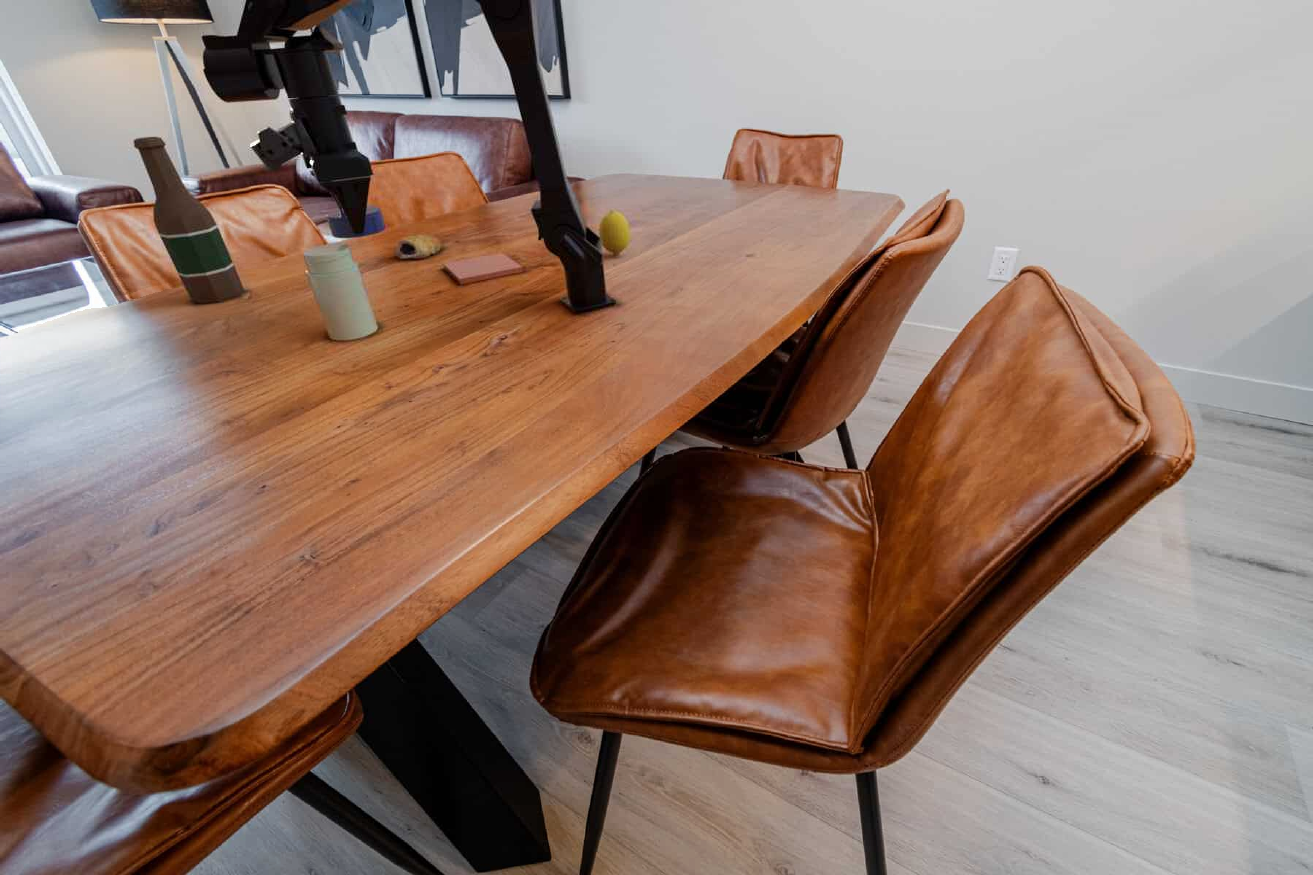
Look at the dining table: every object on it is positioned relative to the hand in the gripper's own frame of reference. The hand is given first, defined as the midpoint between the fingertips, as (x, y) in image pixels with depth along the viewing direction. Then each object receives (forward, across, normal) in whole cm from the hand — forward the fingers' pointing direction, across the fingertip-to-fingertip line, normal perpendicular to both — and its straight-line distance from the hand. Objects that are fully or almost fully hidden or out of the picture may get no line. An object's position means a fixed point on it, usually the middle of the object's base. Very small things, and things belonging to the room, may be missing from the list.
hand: (355, 229), depth 81 cm
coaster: (+13, -14, +19) cm, 27 cm away
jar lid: (-2, 0, 0) cm, 2 cm away
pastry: (+13, -33, +12) cm, 37 cm away
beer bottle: (+13, -29, -22) cm, 38 cm away
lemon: (+13, -6, +42) cm, 45 cm away
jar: (+13, +3, -5) cm, 14 cm away
